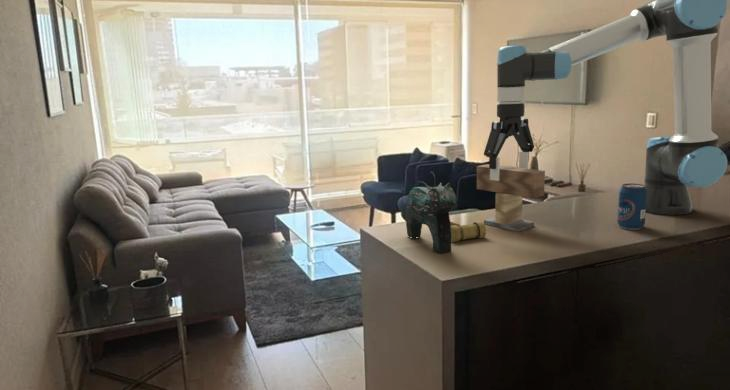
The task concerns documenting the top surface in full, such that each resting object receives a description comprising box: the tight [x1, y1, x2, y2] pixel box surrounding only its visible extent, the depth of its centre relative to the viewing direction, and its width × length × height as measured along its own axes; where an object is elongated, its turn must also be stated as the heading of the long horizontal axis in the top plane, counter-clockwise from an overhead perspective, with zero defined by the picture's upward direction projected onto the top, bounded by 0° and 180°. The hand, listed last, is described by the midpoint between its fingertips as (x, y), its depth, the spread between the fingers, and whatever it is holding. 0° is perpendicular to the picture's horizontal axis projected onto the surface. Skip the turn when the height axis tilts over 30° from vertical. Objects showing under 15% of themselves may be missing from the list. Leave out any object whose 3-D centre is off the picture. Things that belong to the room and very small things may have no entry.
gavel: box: [450, 221, 487, 243], centre depth 147 cm, size 21×5×10 cm
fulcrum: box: [483, 192, 535, 232], centre depth 150 cm, size 12×8×10 cm, turn 38°
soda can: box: [616, 183, 647, 231], centre depth 143 cm, size 7×7×12 cm
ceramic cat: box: [405, 171, 457, 254], centre depth 134 cm, size 20×6×20 cm, turn 23°
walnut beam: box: [476, 163, 546, 199], centre depth 148 cm, size 20×5×7 cm, turn 38°
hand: (509, 176), depth 148 cm, fingers open, 13 cm apart
